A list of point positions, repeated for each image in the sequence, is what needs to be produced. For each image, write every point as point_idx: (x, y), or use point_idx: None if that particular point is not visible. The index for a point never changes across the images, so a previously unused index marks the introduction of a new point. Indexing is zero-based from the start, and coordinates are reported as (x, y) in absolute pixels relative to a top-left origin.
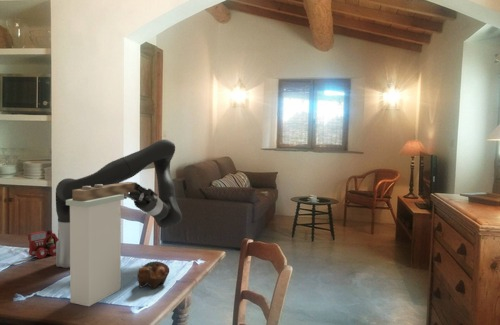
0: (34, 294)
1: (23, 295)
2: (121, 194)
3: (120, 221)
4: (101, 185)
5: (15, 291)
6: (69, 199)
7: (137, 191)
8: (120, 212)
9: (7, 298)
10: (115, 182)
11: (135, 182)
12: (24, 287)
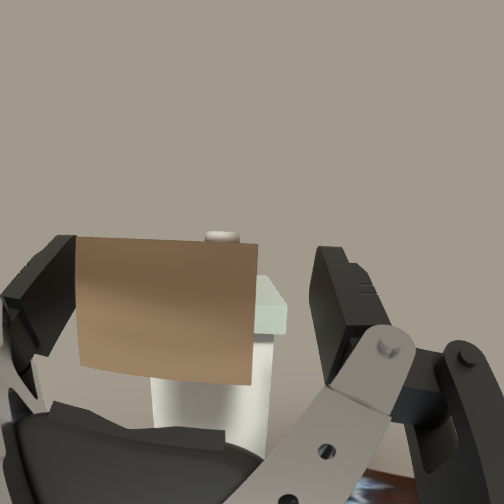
0: (356, 498)
1: (367, 488)
2: (421, 477)
3: (154, 425)
4: (205, 233)
5: (400, 487)
6: (265, 276)
7: (62, 319)
8: (151, 386)
9: (375, 473)
10: (329, 248)
11: (96, 237)
12: (411, 500)
